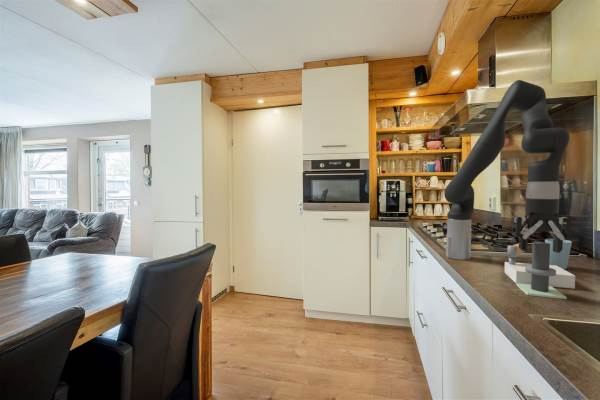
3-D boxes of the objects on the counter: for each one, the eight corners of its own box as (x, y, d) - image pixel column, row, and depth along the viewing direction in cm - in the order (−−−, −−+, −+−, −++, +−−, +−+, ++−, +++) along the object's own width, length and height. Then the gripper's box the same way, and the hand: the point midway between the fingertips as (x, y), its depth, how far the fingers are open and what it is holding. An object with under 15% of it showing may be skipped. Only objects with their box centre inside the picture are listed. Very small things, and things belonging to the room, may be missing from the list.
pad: (527, 295, 83) (527, 293, 83) (516, 285, 92) (516, 283, 92) (566, 299, 80) (566, 297, 80) (551, 288, 88) (551, 286, 88)
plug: (530, 292, 84) (531, 244, 83) (521, 284, 90) (522, 240, 90) (560, 295, 81) (561, 246, 81) (548, 287, 88) (550, 241, 87)
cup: (574, 271, 105) (575, 243, 105) (547, 268, 109) (548, 241, 108) (566, 265, 112) (567, 239, 112) (541, 263, 116) (542, 238, 115)
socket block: (516, 283, 93) (516, 263, 93) (504, 272, 104) (504, 255, 104) (574, 288, 88) (575, 268, 88) (555, 276, 99) (556, 258, 99)
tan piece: (515, 257, 99) (515, 247, 99) (506, 256, 102) (506, 246, 101) (528, 251, 108) (528, 242, 108) (519, 250, 110) (519, 241, 110)
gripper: (522, 197, 82) (520, 253, 83) (580, 197, 79) (577, 255, 80) (508, 196, 89) (506, 248, 90) (561, 196, 87) (558, 249, 88)
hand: (540, 251), depth 85 cm, fingers open, 8 cm apart
